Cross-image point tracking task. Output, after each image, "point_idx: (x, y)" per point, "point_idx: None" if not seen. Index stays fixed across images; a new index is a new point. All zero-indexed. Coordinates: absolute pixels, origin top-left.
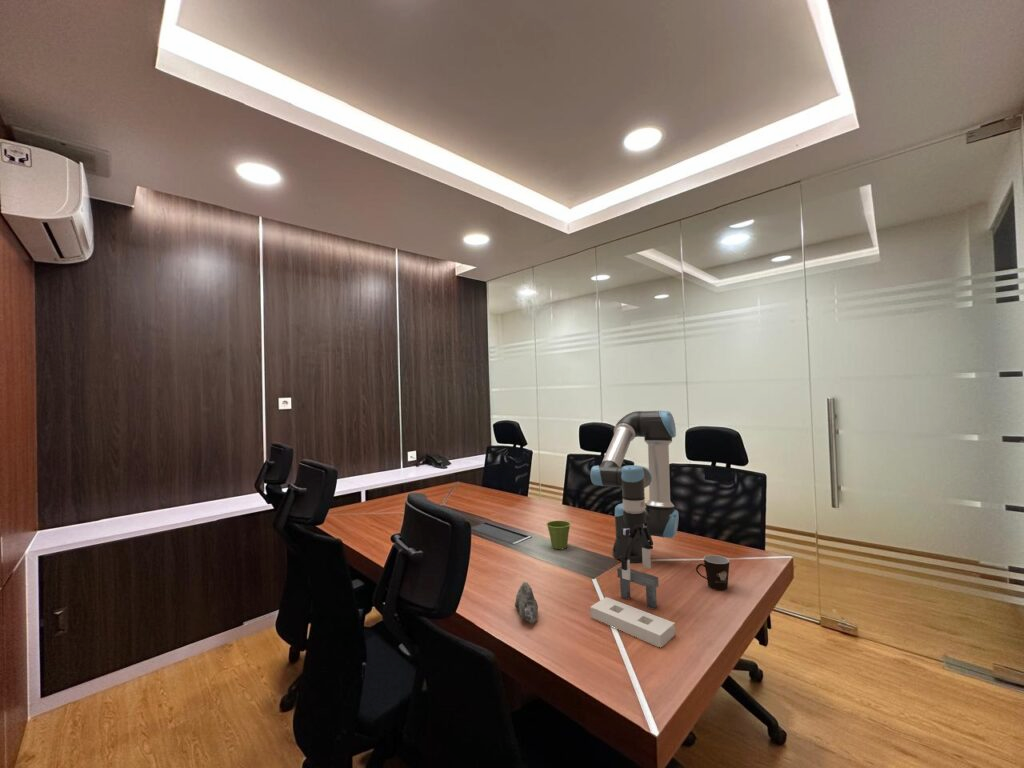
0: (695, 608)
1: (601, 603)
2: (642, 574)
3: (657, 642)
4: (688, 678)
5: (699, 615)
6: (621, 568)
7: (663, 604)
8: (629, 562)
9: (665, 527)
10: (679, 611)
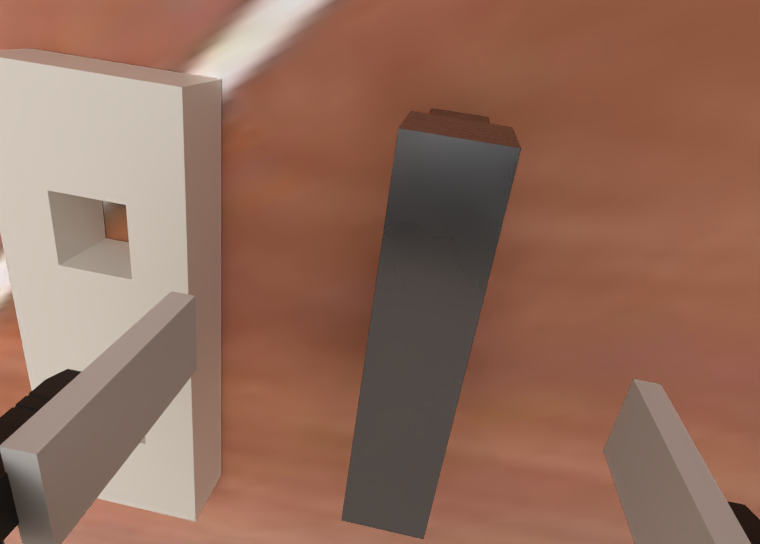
0: (534, 520)
1: (70, 105)
2: (402, 423)
3: None
4: (18, 533)
5: (465, 537)
6: (437, 176)
7: (491, 383)
8: (73, 516)
9: None
10: (453, 463)
